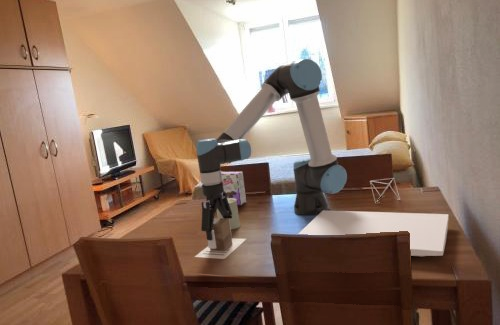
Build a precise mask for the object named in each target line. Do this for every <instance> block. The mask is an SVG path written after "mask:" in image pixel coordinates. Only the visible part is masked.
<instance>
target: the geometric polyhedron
mask: <svg viewBox="0 0 500 325" xmlns="http://www.w3.org/2000/svg"><path fill="white" fill-rule="evenodd" d="M391 179H392V180H391ZM383 180H386V178H383V179H382V178H381V179H379V181H380V182H379V181H377V179H373V180H370V181H369V183H370V188H371V191H372V195H373V199H374V203H375V204H377V203H376V202H378V201H379V200H378V199H379V198H380V197H381V196H383V195H384V193H385V192H386V191H387V189H388V187H390V189H391V190H392V191H393V193H394V194H395V196H396V197H397V200H400V201H401V197H400V194H399V191H398V190H399V189H398V187H397V184H396V180H395V177H391V178H388V180H390V182H388V183H387V182H383V184H384V185H387V186H386V187H385V189H384V190H383V191H382V193H381V194H380V192H379V191H378V190H377V188H376V187H375V185H374V184H373V182H374V183H378V184H379V183H380V184H382V182H381V181H383ZM393 181H394V184H395V185H394V186H395V188H396V192H397V193H396V192H395V190H394V189H393V187H392V186H391V183H392V182H393ZM372 186H373V187H372ZM373 188H374V190H376V192H377V194H378V195H379V197H378V199H377V200H376V198H375V193H374V191H373ZM381 198H382V197H381ZM381 198H380V199H381ZM378 204H381V203H380V202H378Z"/></svg>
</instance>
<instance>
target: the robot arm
mask: <svg viewBox="0 0 500 325" xmlns="http://www.w3.org/2000/svg"><path fill="white" fill-rule="evenodd" d="M322 77H323V73H322V69H321V67H320V66H319V64H318V63H317V62H316V61H314V60H313V59H311V58H300V59H296V60H293V61H289V62H285V63H282V64H279V65H278V67H277V68H275V70H273V72H272V73H270V75H269V76H268V77H267V78H266V80H264V82H263V83H261V89H260V90H259V91H258V92H257V94H255V95H254V97H253V98H252V99H251V100H250V101H249V102H248V104H246V106H245V107H244V108H243V109H242V110H241V112H240V113H239V114H238V115H237V116H236V117H235V119H234V120H232V122H231V123H230V124H229V125H228V126H227V127H226V129H225V130H224V131H223V132H222V133H221V134H220V135H219V136H218V137H217V138H207V139H206V138H205V139H201V140H197V142H196V144H195V146H196V147H195V148H196V149H195V150H196V157H197V164H198V169H199V176H200V182H201V184H202V185H201V191H202V194H203V196H205V197H206V199H205V200H206V201H202V202H201V231H202V232H205V234H206V240H207V247H209V248H211V249H216V241H215V234H214V230H212V228H213V222H214V218H215V215H216V213H217V208H218V210H219V212H220V213H221V215H222V217H223V218H227V219H229V218H232V211H231V209H230V206H229V203H228V200H227V196H226V192H224V188H223V183H222V182H221V181H222V173H221V172H222V167H221V165H223V164H228V163H235V162H238V161H240V162H242V161H245V160H248V159H249V158H250V157H252V156H251V155H252V147H251V144H250V142H249V140H247V139H246V138H245V137H246V135H247V134H248V133H249V132H250V131H251V130H252V129H253V127H254V126H255V125H256V124H257V123H258V122H259V121H260V120H261V118H262V117H263V116H264V115H265V114H266V112H268V110H269V109H270V108H271V107H272V106H273V105H274V104H275V103H276V102H279V101H280V100H281V99H282V98H283V97H285V96H286V95H289V99H290V101H293V102H294V103H295V104H296V110H297V113H298V117H299V120H300V124H301V128H302V132H303V134H304V140H305V143H306V146H307V150H308V153H309V158H305V159H300V160H296V161H294V163H293V176H294V183H295V193H296V195H295V201H294V204H293V210H294V213H295V214H297V215H302V216H312V215H319V214H320V213H321V212H322V211H323V210H328V211H329V203H328V201H327V198H326V196H325V194H336V193H339V192H340V191H341V190H342V189H343V188H344V187H345V185H346V183H347V180H348V174H347V170H346V169H345V167H343V166H342V165H340V164H339V162H338V158H337V156H336V155H334V154H333V153H332V149H331V146H330V142H329V138H328V133H327V130H326V126H325V121H324V118H323V114H322V109H321V106H320V102H319V98H318V95H319V94H320V92H321V90H320V85H321V81H322V80H323V78H322ZM228 211H229V212H228ZM229 223H230V220H229ZM209 227H210V228H209ZM230 230H231V227H230ZM231 231H232V230H231ZM231 237H232V233H231Z"/></svg>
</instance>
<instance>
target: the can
mask: <svg viewBox="0 0 500 325" xmlns="http://www.w3.org/2000/svg"><path fill="white" fill-rule="evenodd" d="M227 200H228V203H229V206H230V209H231V211H232V218H229V220H230V227H231V231H232V230H235V229H240V228H241V224H240V217H239V210H238V209H239V208H238V205H237V199H235V198H227ZM228 212H229V211H228ZM216 215H217V218H223V217H222V215H221V213H220V212H219V210H218V208H217V211H216Z"/></svg>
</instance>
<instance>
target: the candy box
mask: <svg viewBox="0 0 500 325" xmlns="http://www.w3.org/2000/svg"><path fill="white" fill-rule="evenodd" d="M221 173H222V181H221V182H222V183H223V188H224V192H226V196H227V198H235V199H237V206H242V205H244V204H246V203H247V196H246V189H245V180H244V174H243V171H221Z"/></svg>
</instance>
